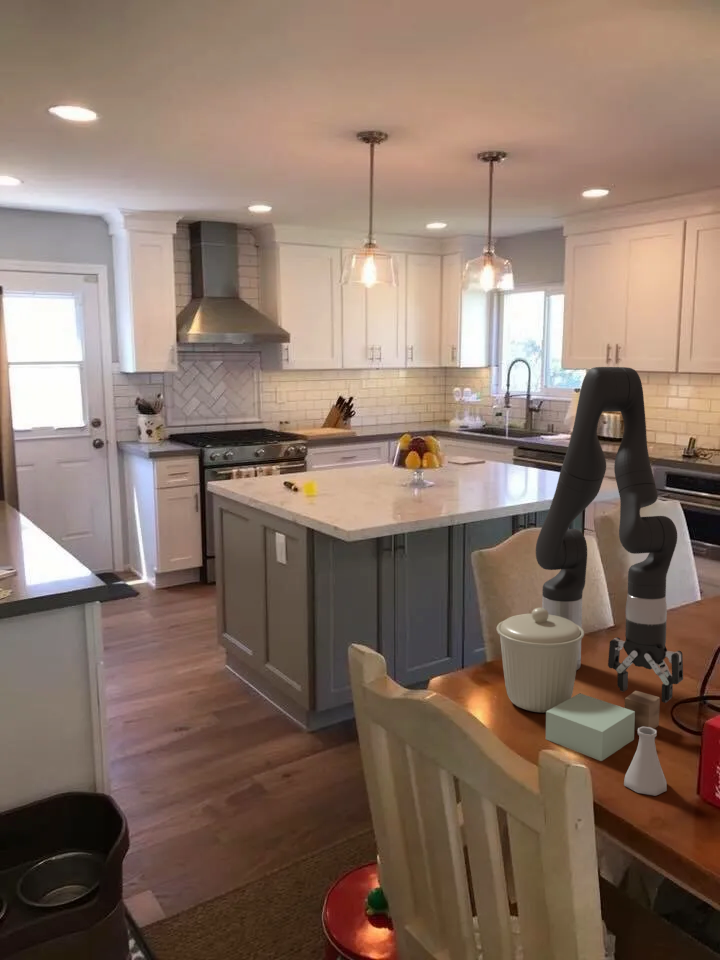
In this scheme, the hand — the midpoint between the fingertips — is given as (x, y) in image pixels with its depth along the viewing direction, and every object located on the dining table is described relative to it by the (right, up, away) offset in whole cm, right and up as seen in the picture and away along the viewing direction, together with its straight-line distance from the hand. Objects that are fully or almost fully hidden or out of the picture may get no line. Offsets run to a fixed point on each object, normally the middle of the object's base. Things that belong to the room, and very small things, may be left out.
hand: (644, 695), depth 155 cm
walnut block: (0, -6, +1) cm, 7 cm away
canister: (-18, -5, +13) cm, 23 cm away
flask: (-7, -10, -21) cm, 24 cm away
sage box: (-12, -8, -4) cm, 15 cm away
